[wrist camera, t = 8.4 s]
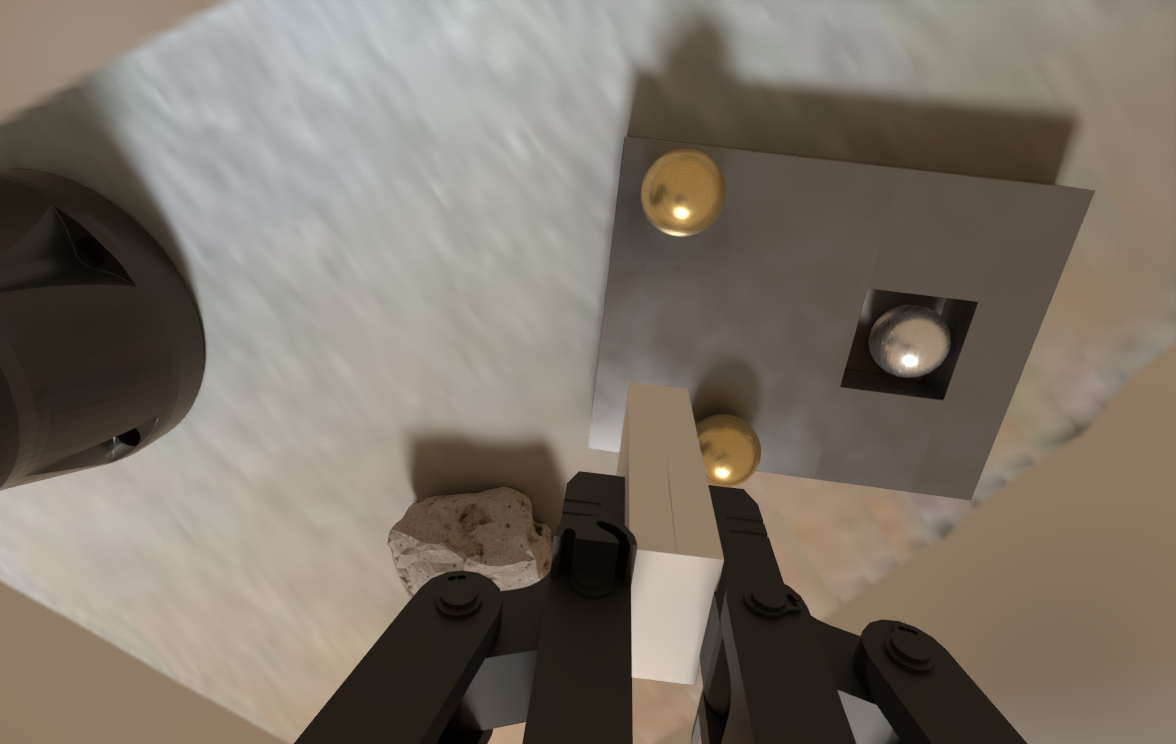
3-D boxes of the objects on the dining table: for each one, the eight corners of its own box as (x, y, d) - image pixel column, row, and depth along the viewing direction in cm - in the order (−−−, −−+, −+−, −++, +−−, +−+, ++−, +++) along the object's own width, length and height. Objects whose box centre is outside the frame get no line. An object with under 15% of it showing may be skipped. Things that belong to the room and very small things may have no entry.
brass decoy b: (680, 458, 30) (683, 496, 27) (690, 397, 28) (695, 430, 25) (747, 467, 29) (758, 506, 26) (761, 407, 28) (774, 440, 25)
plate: (592, 424, 32) (587, 448, 30) (626, 135, 27) (624, 137, 24) (947, 472, 31) (970, 500, 29) (1055, 184, 26) (1094, 190, 24)
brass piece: (636, 224, 26) (634, 238, 23) (647, 142, 24) (646, 145, 21) (713, 233, 25) (722, 248, 23) (728, 151, 24) (739, 155, 21)
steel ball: (847, 368, 28) (920, 395, 26) (867, 300, 27) (944, 322, 25) (878, 356, 30) (948, 380, 28) (898, 292, 29) (972, 312, 27)
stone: (454, 673, 39) (606, 644, 38) (424, 751, 34) (601, 720, 32) (379, 488, 36) (542, 448, 35) (333, 540, 31) (524, 496, 29)
